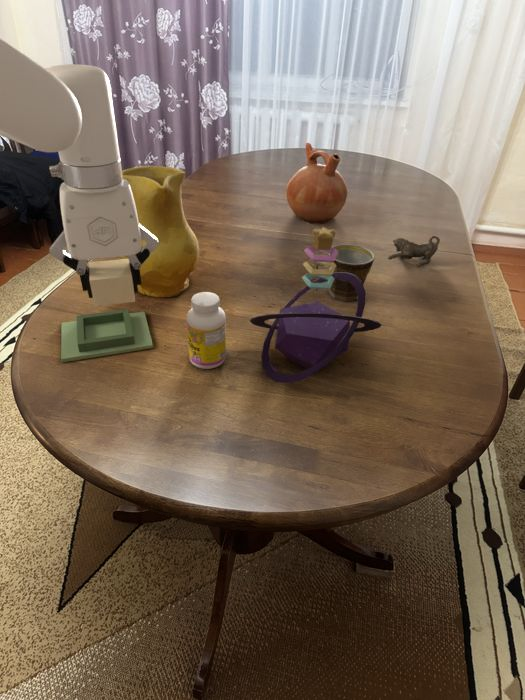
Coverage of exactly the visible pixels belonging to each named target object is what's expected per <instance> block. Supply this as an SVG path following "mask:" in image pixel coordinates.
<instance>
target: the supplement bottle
mask: <svg viewBox="0 0 525 700" xmlns="http://www.w3.org/2000/svg"><path fill="white" fill-rule="evenodd" d="M220 303H221V302H220V297H219V295H217V294H216V293H214V292H212V291H211V292H210V291H201V292H198V293H195V294H194V295H192V297H191V299H190V304H191V305H190V306H191V308H190V309H189V310H188V312H187V314H186V328H187V329H186V330H187V344H188V359H189V361H190V363H191V364H192V365H193V366H195V367H196V368H198V369H203V370H210V369H215V368H218V367H219V366H221V365H222V364H224V362H225V360H226V354H227V353H226V352H227V350H226V349H227V347H226V345H227V344H226V343H227V342H226V339H227V337H226V336H227V335H226V313H225V311H224V310H223V308H222V307H220V305H221V304H220Z"/></svg>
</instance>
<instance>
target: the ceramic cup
mask: <svg viewBox="0 0 525 700" xmlns="http://www.w3.org/2000/svg"><path fill="white" fill-rule="evenodd" d="M332 248H335V249H336V250H337V251H338V254H337V256H336V258H335V260H334V261H333V262H334V263H335V264H336V267H335V270H334V272H333V273H336V272H348V273H351V274H354V275H356V276H357V277H358V278H359V279H360V280H361V281H362V283H363V286H365V285H364V284H365V282H366V280H367V277H368V275H369V273H370V272H371V270H372V269H371V268H372V266H373V263H374V261H375V253H373V252H372V251H371V250H369V249H368V248H366V247H364V246H360V245H357V244H345V243H344V244H337V245H333V246H332ZM330 255H331V254H330V253H327V256H330ZM319 266H320V264H316V265H315V269H319ZM328 269H329V267H327V270H328ZM328 290H329V294H330V296H331V297H332V298H333V299H335V300H338V301H342V302H352V301H356V300H358V296H357V292H356V289H355V287H354V286H353V285H352V284H351V283H350V282H348V281H345V280H342V279H338V280H334V281H333V283H332V285H331V288H329V289H328Z"/></svg>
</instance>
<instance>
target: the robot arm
mask: <svg viewBox="0 0 525 700" xmlns="http://www.w3.org/2000/svg"><path fill="white" fill-rule="evenodd" d="M110 82H111V81H110V79H109V77H108V75H107V73H106V72H105V70H104V69H102V68H101V67H98V66H95V65H89V64H77V63H75V64H73V63H71V64H68V63H67V64H58V65H52V66H50V67H43V66H42V65H40V64H39V63H38V62H36V61H34V60H33V58H30V57H29V56H28V55H26V54H25V53H23V52H21V51H20V50H18V49H17V48H16V47H14V46H12V45H11V44H9V42H6V41H5V40H3V39H2V38H0V137H3V138H6V139H8V140H11V141H13V142H15V143H16V142H17V143H19V144H21V145H24V146H26V147H29V148H31V149H33V150H35V151H37V152H43V153H58V158H59V162H58V164H55V165H49V172H50V175H51V177H52V178H55V177H56V178H61V180H62V181H63V182H62V183H61V184H60V186H59V205H60V214H61V220H62V226H63V230H62V231H61V233H60V234H59V235H58V237H57V238H56V239H55V240H54V241H53V243H52V244H51V246H49V252H48V253H49V255H50V256H52V257H53V258H55V259H56V260H58V261H59V262H60V261H61V262H62V263H63V264H64V266H65V265H66V266H67V267H69V268H70V269H72V270H73V271H75V272H76V274H77V275H79V279H80V283H81V288H82V291H83V292H87V295H88V298H89V299H93V295H92V290H91V285H90V280H89V265H88V264H89V261H91V260H103V259H113V258H120V257H124V256H127V258H128V259H129V261H130V263H129V266H130V270H131V274H132V281H133V288H134V294H135V293H136V294H138V293H139V292H138V287H137V285H142V283H141V276H140V268H141V265H142V264H143V263H144V262H145V260H146V259H147V258H148V257H149V256H150V254H151V252H153V251H154V250H155V249H156V248H157V246H158V245H159V241H158V239H157V238H156V237H155V236H154V235H153V234H151V233H150V232H149V231H148V230H146V229H145V228H144V227H142V226H141V225H140V224H139V222H138V216H137V211H136V206H135V201H134V197H133V194H132V190H131V187H130V185H129V183H128V181H127V180H125V179H123V175H122V171H123V169H122V163H121V162H122V161H121V153H120V147H119V141H118V131H117V126H116V118H115V117H116V116H115V110H114V104H113V96H112V88H111V83H110ZM141 238H142V239H143V240H145V241H146V244H145V245H144V246H143V247H141ZM65 247H67V251H68V252H66V250H65Z"/></svg>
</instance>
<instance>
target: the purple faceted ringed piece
mask: <svg viewBox="0 0 525 700" xmlns="http://www.w3.org/2000/svg"><path fill="white" fill-rule="evenodd" d="M312 236H313V239H312V246H309V247H306V249H303V251H304V252H305V254H306V255H307V257H309V258H310V260H307V261H305V262H303V263H302V265H303V266H304V268H305V269H306V270H307V271H308V272H309V273H307V274H304V275H303V276H301V279H302V280H303V281H304V282H305V284H306V286H305V287H303V288H302V289H301V290H299V291H298V292H297V293H296V294H295V295H294V296H293V297H292V298H290V300H289V301H288V302H287V303H286V304H285V305H284V307H283V308H282V307H281V308H280V310H279V313H267V314H262V315H257V316H253V317H251V318H250V319H249V322H250V323H251V324H252V325H254V326H257V327H261V328H264V329H268V332H267V335H266V337H265V339H264V342H263V346H262V352H261V363H262V369H263V371H264V373H265V375H266V377H267V378H269V379H271V380H272V381H274V382H275V383H282V384H290V383H295V382H299V381H302V380H304V379H306V378H308V377H310V376H312V375H314V374H316V373H317V372H319V371H320V370H321V369H323V368H324V367H326V366H327V365H328V364H329V363H331V362H332V360H334V359H336V358H338V357H339V356H341V355H342V354H344V353H345V352H347V351H349V348H350V346H349V345H350V340H351V338H352V337H353V336H354V334H355V333H363V332H364V333H365V332H369V331H374V330H377V329H379V328H381V327H382V323H380V322H379V321H377V320H374V319H371V318H367V317H363V314H364V310H365V306H366V289H365V285H363V283H362V281H361V280H360V279H359V278H358V277H357V276H356V275H354V274H351V273H348V272H336V273H333V272H334V270H335V267H336V264H335V263H334V262H333V261H334V260H335V258H336V256H337V254H338V251H337V250H336V249H335V248H332V247H333V242H334V239H335V236H336V229H327V228H326V227H325V226H323V227H322V228H321V229H319V228H313V229H312ZM319 251H320V252H324V253H327V255H326V254H325V255H323V254H322V255H321V254H314V253H317V252H319ZM328 253H330V254H331V255H330V256H328ZM316 264H319V266H320V265H321V266H323V267H326V268H327V269H322V268H321V269H320V268H318V269H316V268H313V266H316ZM328 267H329V269H328ZM314 278H317V279H316V280H313V281H311V280H312V279H314ZM338 279H342V280H345V281H348V282H350V283H351V284H352V285H353V286H354V287H355V289H356V292H357V296H358V298H357V307H356V311H355V313H354V315H347V314H342V313H340V312H338V311H337V310H335V309H333V308H331V307H329V306H327V305H325V304H324V303H322V302H320V301H318V300H317V301H312V302H307V303H303V304H298V305H294V303H296V301H297V300H299V299H300V298H301V297H302V296H303V295H304V294H306V293H307V292H310V290H329V288H331V285H332V283H333V281H334V280H338ZM301 301H302V302H303V300H301ZM293 305H294V306H293ZM269 320H274V321H273V322H272V324H270V323H268V322H266V321H269ZM351 322H352V323H351ZM359 324H362V325H363V326H360V327H358V326H359ZM275 330H276V331H277V332H276V339H275V344H274V345H275V346H274V349H276V350H277V351H278V352H280V354H282V355H283V357H285V358H286V359H287V360H288V361H289V362H292V363H293V364H296V365H298V366H301V367H302V368H305V370H303V371H299V372H295V373H283V372H280V371H278V370H277V369H275V368H274V365H273V364H272V362H271V359H270V349H271V348H270V347H271V342H272V338H273V336H274V334H275Z"/></svg>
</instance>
